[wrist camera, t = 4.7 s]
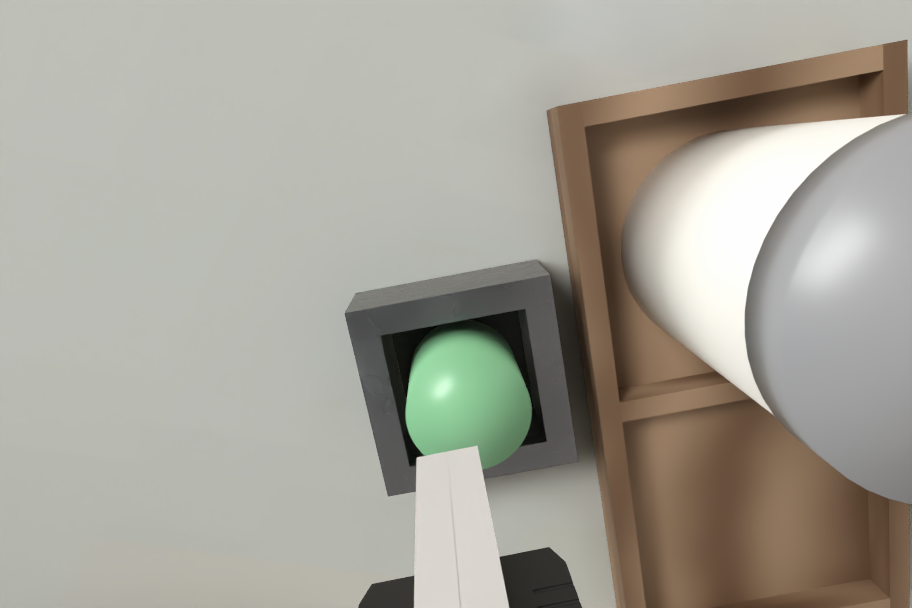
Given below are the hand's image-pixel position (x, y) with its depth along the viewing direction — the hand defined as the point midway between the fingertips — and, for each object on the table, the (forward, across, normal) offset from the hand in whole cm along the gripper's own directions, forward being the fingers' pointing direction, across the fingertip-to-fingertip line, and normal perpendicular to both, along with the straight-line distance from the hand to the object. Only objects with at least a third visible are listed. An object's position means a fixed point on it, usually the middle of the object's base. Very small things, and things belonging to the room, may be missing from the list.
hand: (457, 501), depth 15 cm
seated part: (+9, +11, +3) cm, 15 cm away
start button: (+9, +1, 0) cm, 9 cm away
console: (+10, +1, 0) cm, 10 cm away
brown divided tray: (+9, +11, -2) cm, 15 cm away
